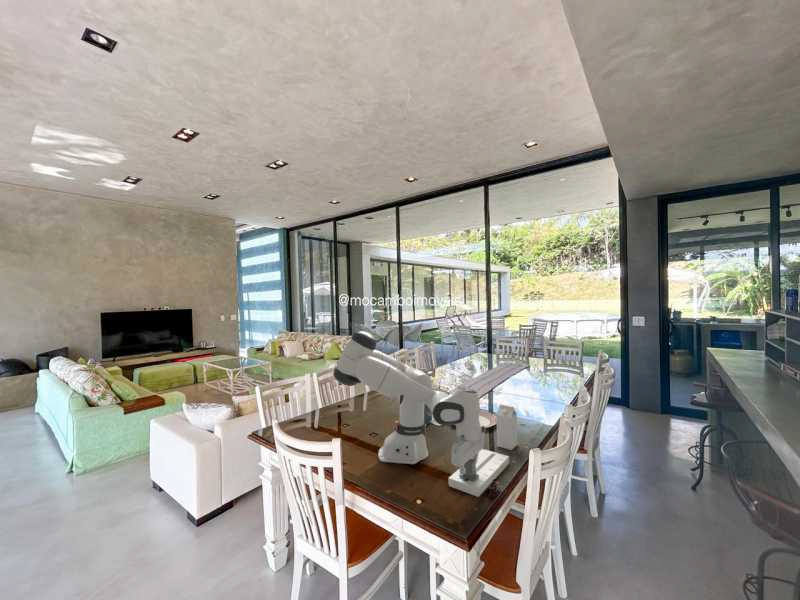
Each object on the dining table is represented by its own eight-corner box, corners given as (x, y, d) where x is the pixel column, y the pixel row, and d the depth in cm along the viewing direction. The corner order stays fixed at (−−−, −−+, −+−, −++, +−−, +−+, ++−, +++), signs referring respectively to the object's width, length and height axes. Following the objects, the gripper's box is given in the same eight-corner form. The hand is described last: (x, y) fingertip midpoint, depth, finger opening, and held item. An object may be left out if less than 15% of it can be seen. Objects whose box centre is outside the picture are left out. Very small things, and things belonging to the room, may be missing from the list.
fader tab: (474, 481, 123) (473, 464, 123) (459, 476, 127) (458, 459, 127) (479, 476, 127) (478, 459, 127) (464, 471, 130) (464, 455, 130)
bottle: (425, 425, 188) (424, 370, 188) (411, 420, 194) (410, 368, 194) (435, 420, 195) (434, 368, 195) (421, 416, 202) (421, 366, 201)
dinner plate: (499, 434, 174) (499, 428, 174) (446, 431, 179) (446, 425, 179) (495, 416, 200) (495, 410, 200) (449, 413, 206) (449, 408, 206)
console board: (478, 497, 119) (478, 488, 119) (448, 485, 126) (448, 477, 126) (509, 463, 143) (509, 456, 143) (482, 455, 150) (482, 448, 150)
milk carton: (502, 441, 165) (502, 402, 165) (517, 445, 160) (516, 405, 160) (496, 446, 159) (496, 406, 159) (511, 450, 155) (511, 409, 155)
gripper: (462, 443, 116) (463, 483, 116) (487, 425, 132) (487, 460, 132) (446, 438, 120) (447, 477, 120) (472, 421, 136) (473, 455, 136)
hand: (468, 468), depth 127 cm, fingers open, 8 cm apart
